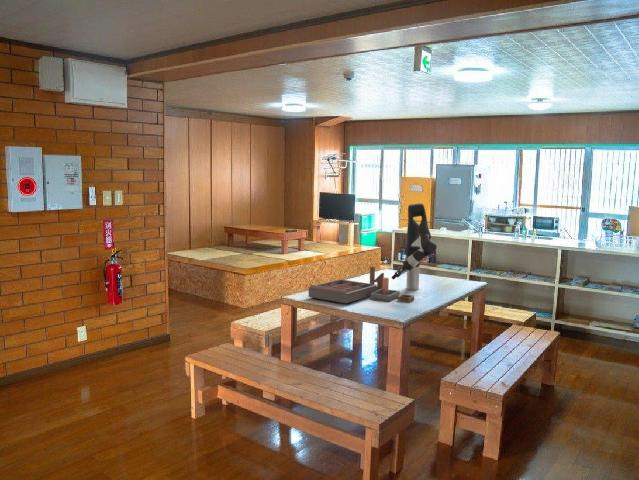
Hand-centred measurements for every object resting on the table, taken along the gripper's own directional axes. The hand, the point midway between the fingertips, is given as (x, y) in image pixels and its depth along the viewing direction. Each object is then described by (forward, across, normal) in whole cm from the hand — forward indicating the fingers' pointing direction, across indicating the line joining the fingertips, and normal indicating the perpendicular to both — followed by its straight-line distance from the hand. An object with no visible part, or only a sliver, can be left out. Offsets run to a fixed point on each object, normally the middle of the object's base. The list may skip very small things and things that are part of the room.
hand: (394, 277), depth 363 cm
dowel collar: (+4, 0, +17) cm, 17 cm away
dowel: (+14, 0, +5) cm, 15 cm away
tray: (+15, 0, +6) cm, 16 cm away
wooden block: (+25, -18, -4) cm, 31 cm away
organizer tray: (+34, +13, -12) cm, 38 cm away
